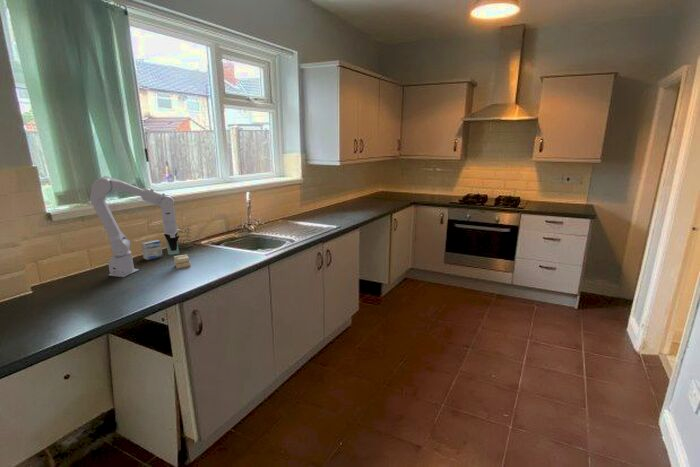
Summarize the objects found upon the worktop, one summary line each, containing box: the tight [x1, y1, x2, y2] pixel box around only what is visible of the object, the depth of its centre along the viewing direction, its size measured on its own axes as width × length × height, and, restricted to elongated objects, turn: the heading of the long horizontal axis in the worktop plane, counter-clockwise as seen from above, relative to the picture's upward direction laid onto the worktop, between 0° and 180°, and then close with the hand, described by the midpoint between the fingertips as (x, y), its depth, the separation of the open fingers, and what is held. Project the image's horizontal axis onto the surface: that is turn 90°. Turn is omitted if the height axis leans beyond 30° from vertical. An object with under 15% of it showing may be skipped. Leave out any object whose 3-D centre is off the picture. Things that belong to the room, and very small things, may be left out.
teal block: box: [166, 240, 180, 255], centre depth 177 cm, size 4×4×6 cm
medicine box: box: [141, 239, 163, 261], centre depth 192 cm, size 8×4×9 cm, turn 143°
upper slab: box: [173, 254, 190, 266], centre depth 180 cm, size 6×6×2 cm
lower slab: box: [174, 261, 191, 269], centre depth 181 cm, size 6×6×2 cm
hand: (173, 249), depth 177 cm, fingers closed on teal block, 4 cm apart
